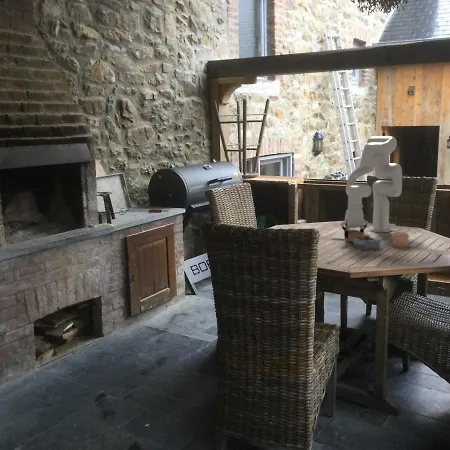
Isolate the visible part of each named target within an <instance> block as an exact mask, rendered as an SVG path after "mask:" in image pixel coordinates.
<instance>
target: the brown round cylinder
mask: <svg viewBox="0 0 450 450" xmlns="http://www.w3.org/2000/svg"><path fill="white" fill-rule="evenodd" d="M409 236H410V235H409V233H408V232H405V231H397V232H393V233H392V246H393V247H394V248H397V249H398V248H401V249H405V248H404V247H406V248H408V247H409Z"/></svg>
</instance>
